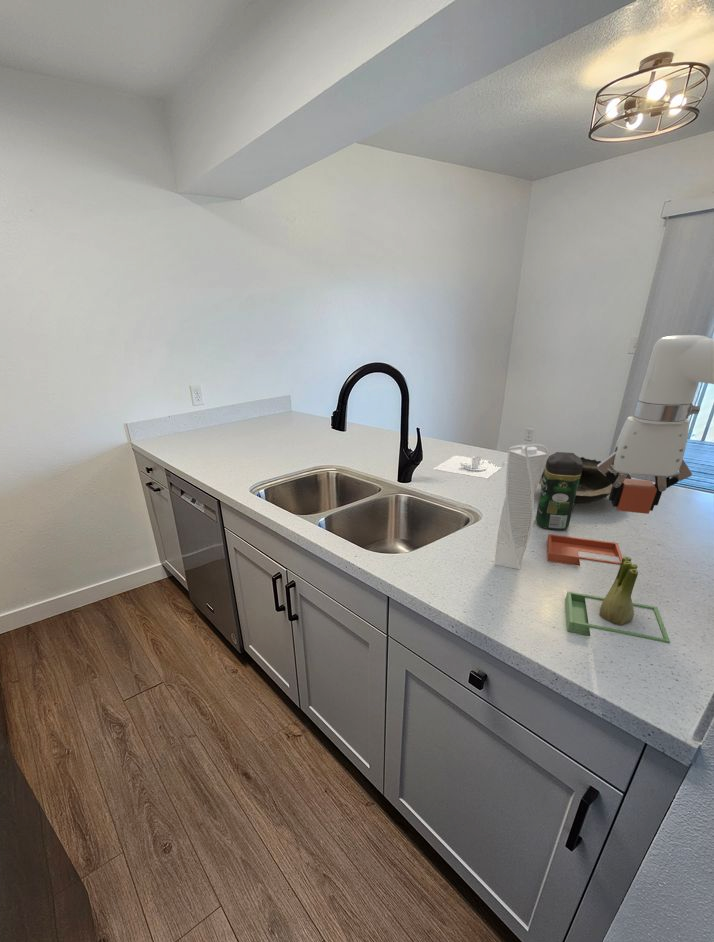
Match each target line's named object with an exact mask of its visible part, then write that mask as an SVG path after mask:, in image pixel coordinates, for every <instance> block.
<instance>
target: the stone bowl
mask: <svg viewBox="0 0 714 942" xmlns="http://www.w3.org/2000/svg"><path fill="white" fill-rule="evenodd" d="M579 458H580V459H581V460H582V463H583V467H582V473H581V476H580V480H579V484H578V488H577V492H576V497H575V501H574V505H581V504H582V505H583V504H585V505H586V504H591V503H593V502H597V501H601V500H603V499H605V498H608V497H609V496H610V492H611V489H612V485H613V484H612V483H611V482H610V481H609V480H608V479H607V478H606V476H605V475H603V474H602V473H601V472H600V471H599V470H598V469H597V465H598V464H599V463H601V462H602V461H601V460H597V459H595V458H594V459H590V458H586V457H584V456H581V457H579ZM547 460H548V459H547ZM546 463H547V462H546ZM545 467H546V465H545ZM608 469H609V470H611V471H612V472H613V473H614V474H616V472H617V471H615V470H614V467H613V466H612V465H610V466H609V467H608ZM544 472H545V468H544V470H543V473H542V476H541V478H540V481H539V484H538V485H540V487H542V481H543V477H544ZM626 479H632V477H631V474H628V476H627V477H626Z"/></svg>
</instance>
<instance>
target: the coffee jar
mask: <svg viewBox="0 0 714 942" xmlns="http://www.w3.org/2000/svg"><path fill="white" fill-rule="evenodd" d="M580 458H581V457H580V456H578V455H576V454H575V453H574V452H564V451H556V452H555V453H553V454H549V456H548V460H547V463H546V467H545V472H544V477H543V481H542V487H541V486H540V487H541V488H540V492H539V498H538V503H537V509H536V514H535V522H536V524H537V526H539V527H541V528H543V529H547V530H551V531H552V530H553V531H559V530H561V531H562V530H567V529H568V528H569V527H570V523H571V518H572V514H573V509H574V505H575V504H574V501H575V497H576V492H577V488H578V484H579V480H580V476H581V473H582V467H583V463H582V460H581V459H580Z"/></svg>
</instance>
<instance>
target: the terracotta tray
mask: <svg viewBox="0 0 714 942" xmlns="http://www.w3.org/2000/svg"><path fill="white" fill-rule="evenodd" d="M579 553H586V554H593V555H601V556H607V557H615V558H618V560H619V561H614V560H608V559H601V558H592V557H587V556H581V555H580V554H579ZM546 558H547V559H546V560H547V562H551V563H556V564H557V563H558V564H564V565H571V566H578V567H581V561H580V560H583V561H584V560H585V561H590V562H591V561H592V562H599V563H604V564H605V563H606V564H611V565H619V566H620V565H621V562H622V558H623V554H622V551H621V548H620V546H619V543H618V542H612V541H605V540H598V539H592V538H591V539H590V538H582V537H575V536H569V535H568V536H567V535H560V534H559V535H558V534H551V533H548V534H547V538H546Z"/></svg>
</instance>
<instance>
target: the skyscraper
mask: <svg viewBox="0 0 714 942" xmlns="http://www.w3.org/2000/svg"><path fill="white" fill-rule="evenodd" d="M538 447H539V448H542V449H544V451H541V450H538ZM516 448H517V449H516ZM549 456H550V451H549V450H548V448H547V446H546V445H544V444H542V443H529V444H517V445H512V446H510V447H509V448H508V451H507V460H506V461H507V462H506V474H505V475H506V476H505V498H504V501H503V505H502V508H501V509H502V510H501V514H500V518H499V524H498V531H497V537H496V538H497V539H496V545H495V555H494V566H499V567H505V568H510V569H516V570H519V571H520V570H521V567H520V566H521V562H522V560H523V557H524V555H525V552H526V549H527V545H528V542H529V539H530V535H531V531H532V526H533V521H534V513H535V493H536V491H537V488H538V486H539V485H540V484H539V481H540V478H541V476H542V473H543V470H544V468H545V465H546V462H547V459H548V457H549Z"/></svg>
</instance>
